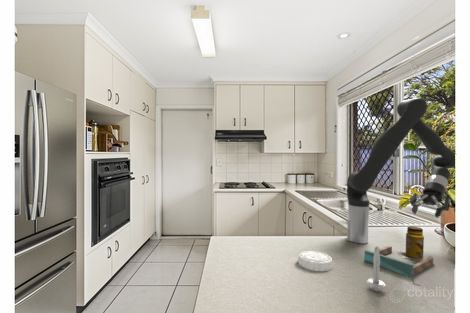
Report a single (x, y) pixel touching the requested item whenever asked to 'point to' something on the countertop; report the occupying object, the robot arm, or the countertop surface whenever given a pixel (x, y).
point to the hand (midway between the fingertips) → (424, 214)
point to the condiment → (414, 244)
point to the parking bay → (397, 262)
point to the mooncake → (315, 261)
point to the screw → (376, 273)
